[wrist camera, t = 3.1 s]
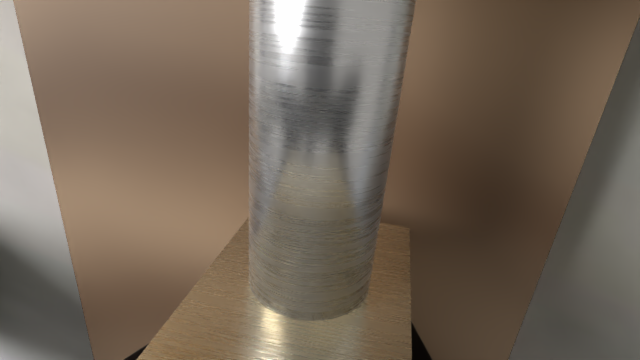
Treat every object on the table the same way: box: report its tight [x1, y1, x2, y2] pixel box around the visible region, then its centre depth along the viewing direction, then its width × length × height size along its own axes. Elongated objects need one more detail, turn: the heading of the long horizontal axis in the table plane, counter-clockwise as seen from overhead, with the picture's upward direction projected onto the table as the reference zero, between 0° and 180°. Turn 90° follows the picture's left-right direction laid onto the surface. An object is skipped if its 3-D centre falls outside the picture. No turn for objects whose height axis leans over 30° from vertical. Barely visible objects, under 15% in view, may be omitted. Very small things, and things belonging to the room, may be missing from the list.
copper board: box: [13, 0, 640, 360], centre depth 9 cm, size 17×12×2 cm
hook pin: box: [137, 0, 416, 360], centre depth 6 cm, size 14×7×4 cm, turn 176°
